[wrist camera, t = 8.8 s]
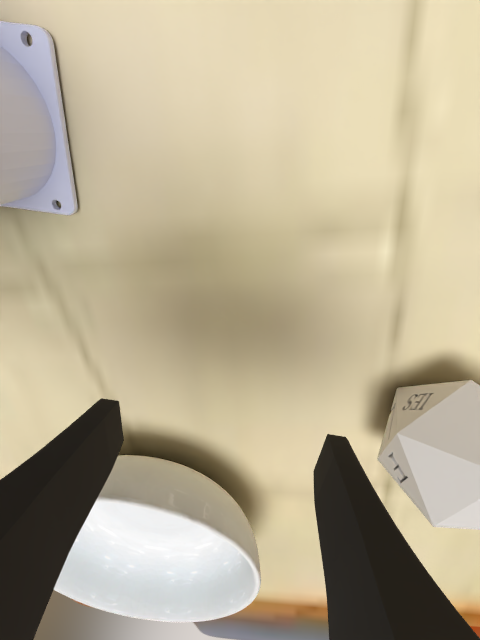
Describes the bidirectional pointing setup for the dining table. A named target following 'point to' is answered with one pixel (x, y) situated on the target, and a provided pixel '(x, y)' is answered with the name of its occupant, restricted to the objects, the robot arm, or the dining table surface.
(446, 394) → the die
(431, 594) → the robot arm
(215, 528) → the serving bowl
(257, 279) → the dining table surface
